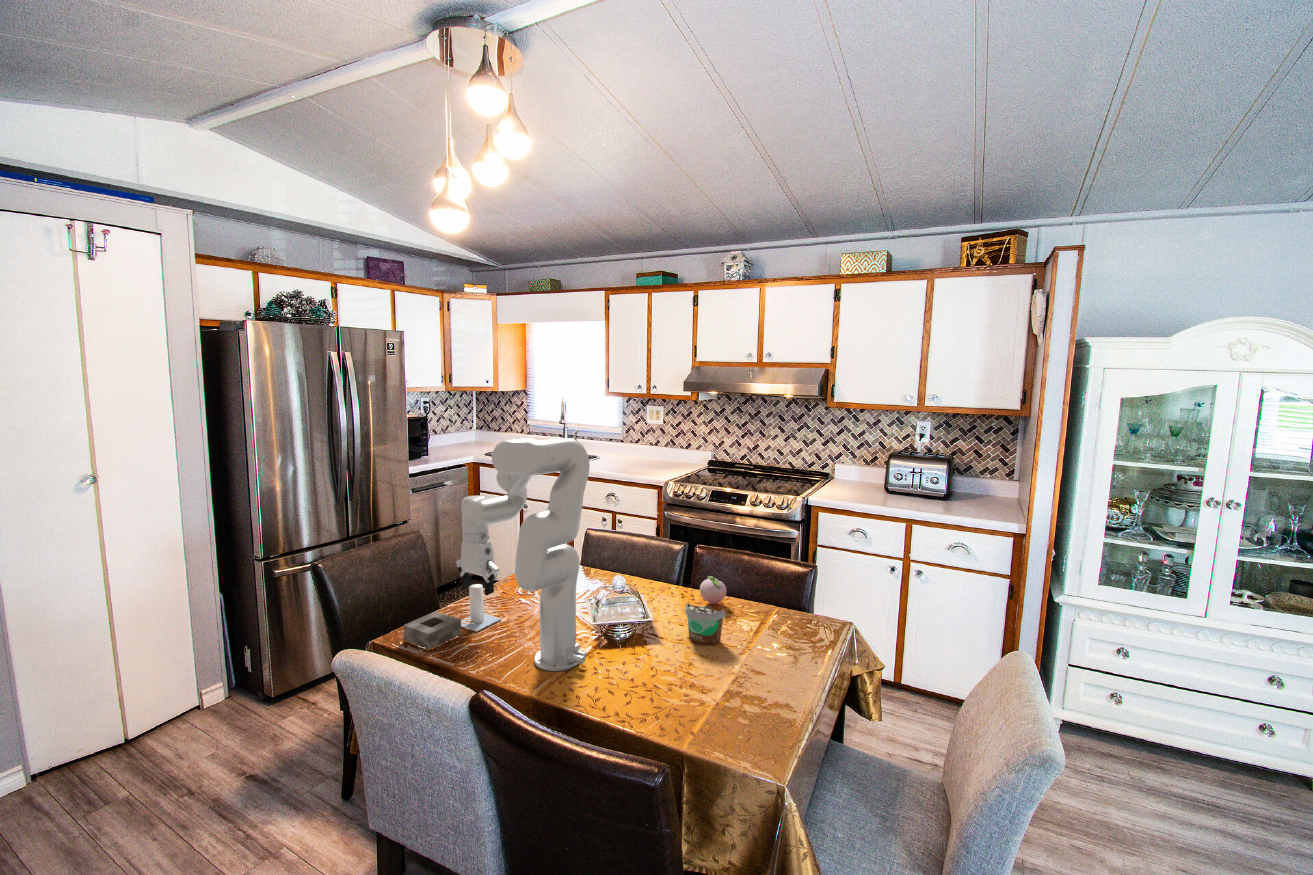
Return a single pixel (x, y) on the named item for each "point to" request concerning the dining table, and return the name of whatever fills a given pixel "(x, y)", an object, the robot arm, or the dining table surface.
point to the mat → (487, 621)
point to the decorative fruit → (712, 590)
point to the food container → (704, 624)
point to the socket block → (432, 630)
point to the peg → (476, 603)
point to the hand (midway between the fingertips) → (477, 591)
